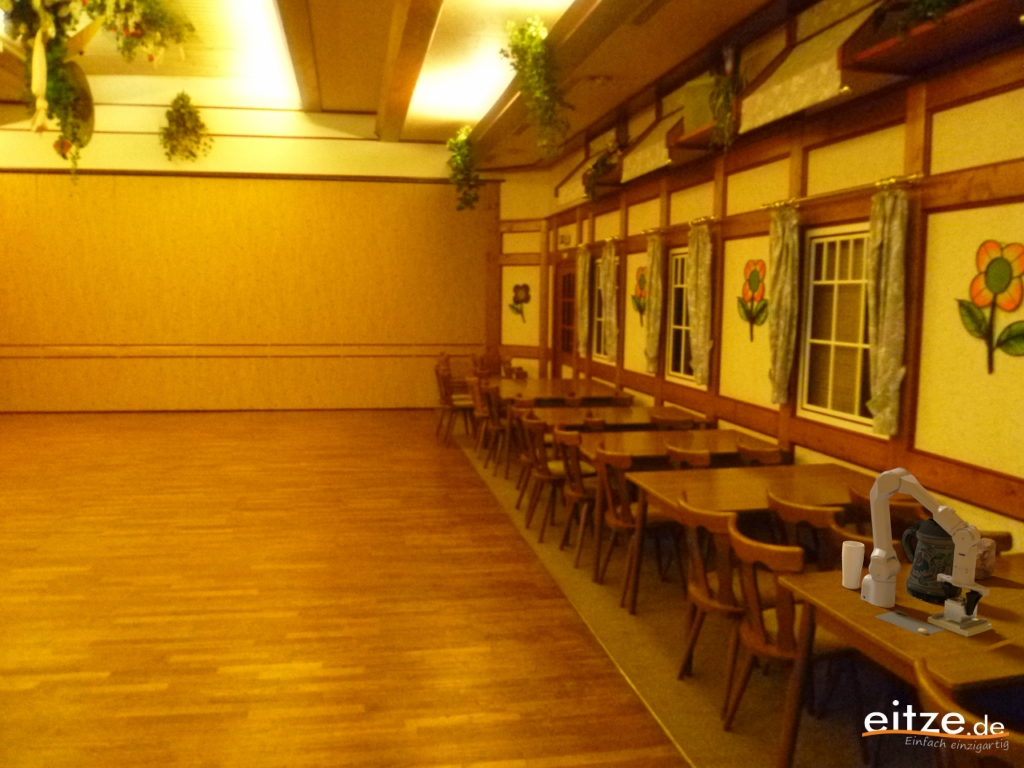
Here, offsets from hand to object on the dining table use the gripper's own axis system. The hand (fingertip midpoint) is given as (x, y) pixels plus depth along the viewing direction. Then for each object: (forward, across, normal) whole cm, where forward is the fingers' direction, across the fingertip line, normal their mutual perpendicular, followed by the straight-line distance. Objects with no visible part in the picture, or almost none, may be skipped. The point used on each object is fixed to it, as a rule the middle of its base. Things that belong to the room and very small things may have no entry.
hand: (960, 611), depth 238 cm
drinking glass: (+5, -38, +1) cm, 38 cm away
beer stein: (+5, -22, +19) cm, 30 cm away
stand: (+5, 0, 0) cm, 5 cm away
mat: (+5, -8, -12) cm, 15 cm away
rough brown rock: (+6, -30, +47) cm, 56 cm away
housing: (+2, 0, 0) cm, 2 cm away
